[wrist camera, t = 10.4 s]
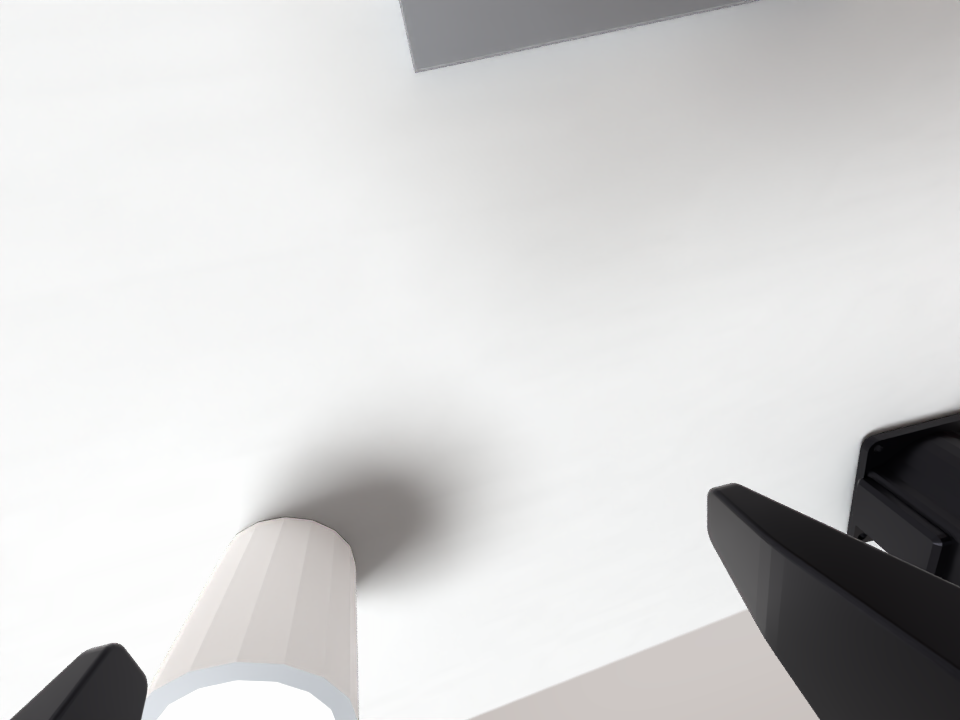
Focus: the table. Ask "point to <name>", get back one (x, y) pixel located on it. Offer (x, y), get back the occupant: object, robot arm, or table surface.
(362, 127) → the table surface
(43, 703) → the robot arm
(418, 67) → the switch plate
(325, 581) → the white cylinder
